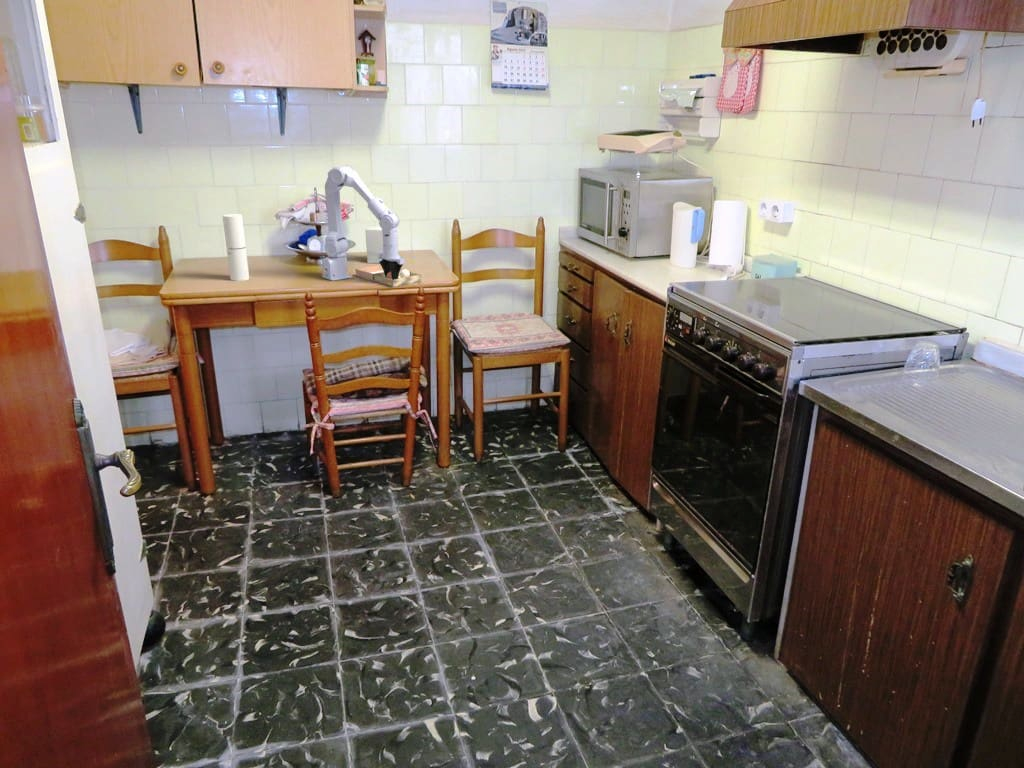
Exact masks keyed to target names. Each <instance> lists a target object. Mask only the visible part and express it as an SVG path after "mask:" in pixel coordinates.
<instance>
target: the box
mask: <svg viewBox="0 0 1024 768" xmlns="http://www.w3.org/2000/svg"><path fill="white" fill-rule="evenodd" d="M402 270H403V269H402ZM402 270H400V272H401V271H402ZM408 271H409V270H408ZM400 272H399V276H398V279H394V280H392V279H389V278H386V277H385V274H384V273H381V274H375V275H374V281H373V282H375V283H379V284H381V285H384V286H387V287H391V288H397V287H402V286H407V285H411V284H416V283H417V284H418V283H422V281H423V280H422V274H419V273H416V272H413V271H409V273H410V276H409V277H405V278H401V277H400Z"/></svg>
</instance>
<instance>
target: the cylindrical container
mask: <svg viewBox="0 0 1024 768" xmlns="http://www.w3.org/2000/svg"><path fill="white" fill-rule="evenodd" d="M243 219H244V217H243V214H241V213H227V214H222V223H223V231H224V239H225V246H226V252H227V253H226V254H227V262H228V270H229V277H230V279H229V280H231V281H233V280H234V281H233V282H243V281H248V280H249V279H250V273H249V272H250V270H249V262H248V254H247V247H246V245H247V244H246V238H245V237H246V236H245V229H244V220H243Z"/></svg>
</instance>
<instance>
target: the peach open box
mask: <svg viewBox="0 0 1024 768" xmlns="http://www.w3.org/2000/svg"><path fill="white" fill-rule="evenodd" d="M400 270H403V269H402V268H401V269H400ZM381 273H384V271H383V268H382V266H381V264H377V265H372V266H365V267H360V268H355V276H356V277H359V278H362V279H365V280H368V281H372V282H374V275H375V274H381Z"/></svg>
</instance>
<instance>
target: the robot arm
mask: <svg viewBox="0 0 1024 768" xmlns="http://www.w3.org/2000/svg"><path fill="white" fill-rule="evenodd" d="M344 187H350V188H353V190H355V191H356V193H358V194H359V196H361V197H362V199H363V200H364V201H365V202H366V203H367V208H368V210H369V211H370V213H372V214H373V215H374V217H375V218H376V219H377V220H378V221H379V222H378V225H379V227H381V228H382V234H383V253H379V254H378V259H382V261H379V263H380V264H379V265H381V266H382V268H383V271H384V274H385V277H386V278H387V274H388V273H389V272H391V274H392V280H394V279H398V276H399V272H400V269H402V267H403V266H404V264H405V259H404V258H403V257H401V255H399V247H398V245H399V243H398V242H399V241H398V239H399V238H398V226H399V224H400V217H399V216H398V215H397V213H395V212H392V210H391V209H389V208H388V206H387V205H386V204H385V203H384V200H383V199H381V198H379V197H375V195H373V193H372V192H371V191H370V190H369V188H368V187H367V185H366V184H365V183H364V182H363V180H362V179H361V178H360V176H359V173H358V172H357V171H356V170H355V169H354V167H352V165H342V166H335V167H333V168H331V169H330V170H329V171H328V172H327V178H326V181H325V183H324V192H325V193H324V194H325V202H326V203H325V204H326V217H327V228H328V233H327V234H326V236H325V243H324V246H323V247H324V249H323V250H324V252H325V253H326V255H327V256H326V257H324V258H322V261H321V265H322V266H321V267H322V275H321V278H323V279H326V280H328V281H329V280H330V281H332V282H333V281H339V280H344V279H350V278H353V275H349V274H348V273H349V272H348V257H347V255H348V253H347V252H348V251H349V249H350V243H349V241H348V238H347V234H346V233H345V232H344V229H343V228H344V227H343V218H342V217H343V216H342V208H341V207H342V204H341V193H340V191H341V189H343V188H344Z"/></svg>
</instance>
